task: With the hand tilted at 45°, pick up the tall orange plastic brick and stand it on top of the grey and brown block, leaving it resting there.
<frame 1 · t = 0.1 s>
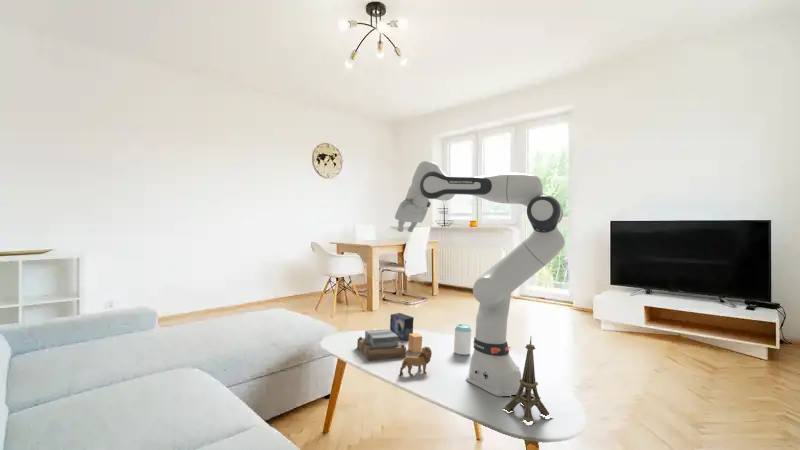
hand: (404, 231, 158), 52 cm above the table, tool tilted 20°, fingers open, 8 cm apart
small box: (400, 337, 186), on the table
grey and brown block: (380, 352, 163), on the table
lion figurine: (415, 373, 143), on the table
can: (461, 353, 167), on the table
eiffel tower: (526, 414, 116), on the table
orange brick: (414, 351, 167), on the table
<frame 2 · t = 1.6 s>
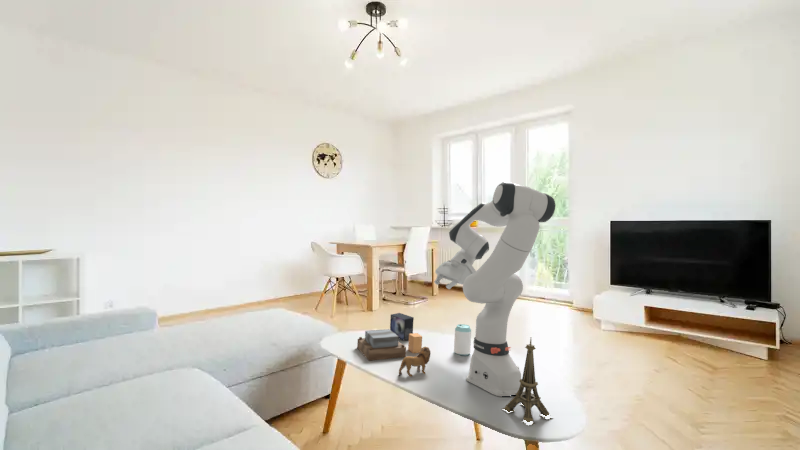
hand: (441, 285, 172), 28 cm above the table, tool tilted 45°, fingers open, 8 cm apart
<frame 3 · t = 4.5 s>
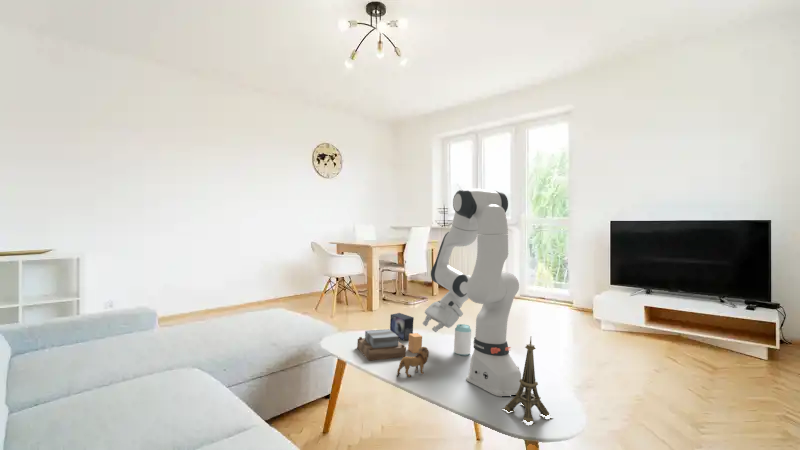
hand: (428, 327, 170), 10 cm above the table, tool tilted 45°, fingers open, 8 cm apart
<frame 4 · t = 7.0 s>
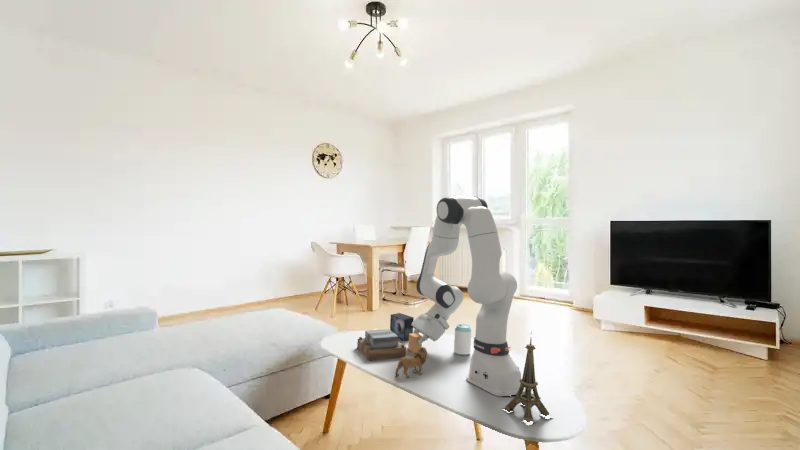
hand: (414, 340, 167), 4 cm above the table, tool tilted 45°, fingers closed on orange brick, 5 cm apart
orange brick: (414, 350, 167), on the table, touching gripper
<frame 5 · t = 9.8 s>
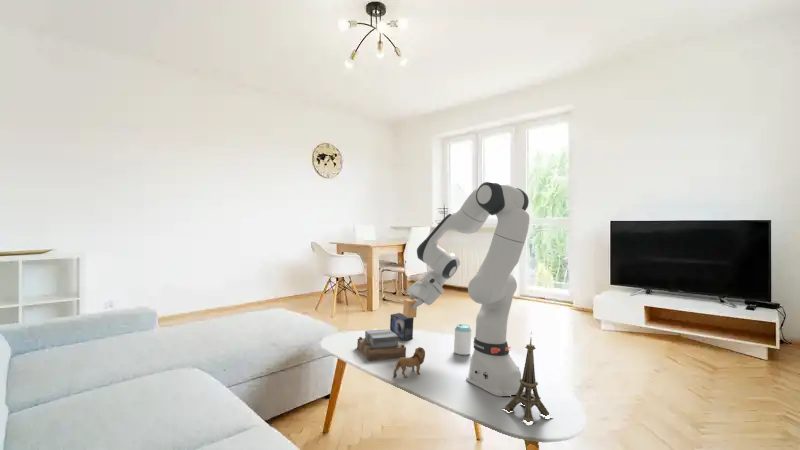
hand: (409, 305, 166), 20 cm above the table, tool tilted 45°, fingers closed on orange brick, 5 cm apart
orange brick: (409, 316, 167), point 15 cm above the table, touching gripper
when the fingers open (14 cm above the table, at t = 12.8 s): orange brick drops 1 cm, resting on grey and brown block.
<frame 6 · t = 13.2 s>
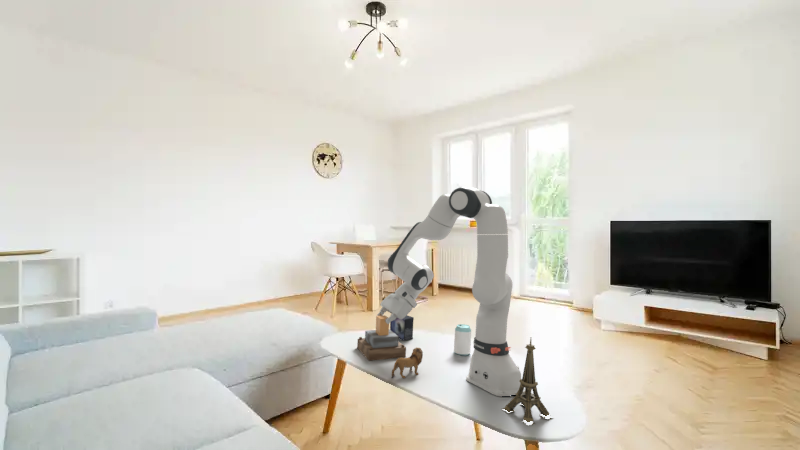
hand: (382, 319, 163), 14 cm above the table, tool tilted 45°, fingers open, 8 cm apart
orange brick: (381, 333, 163), point 8 cm above the table, touching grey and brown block
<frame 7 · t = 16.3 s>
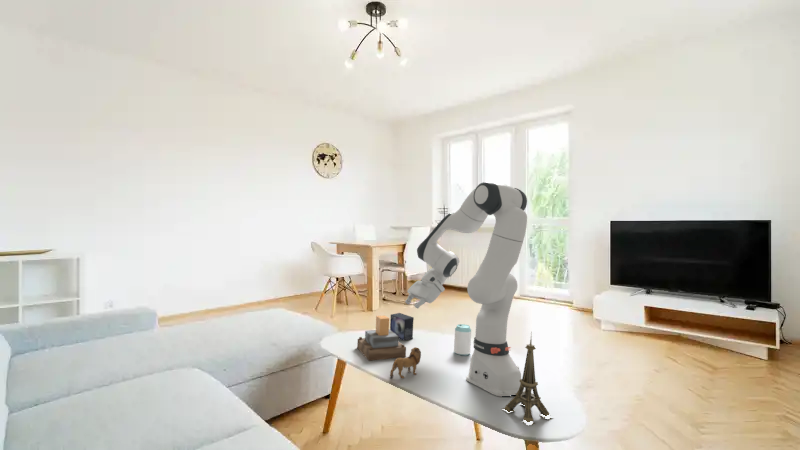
hand: (411, 305, 168), 20 cm above the table, tool tilted 45°, fingers open, 8 cm apart
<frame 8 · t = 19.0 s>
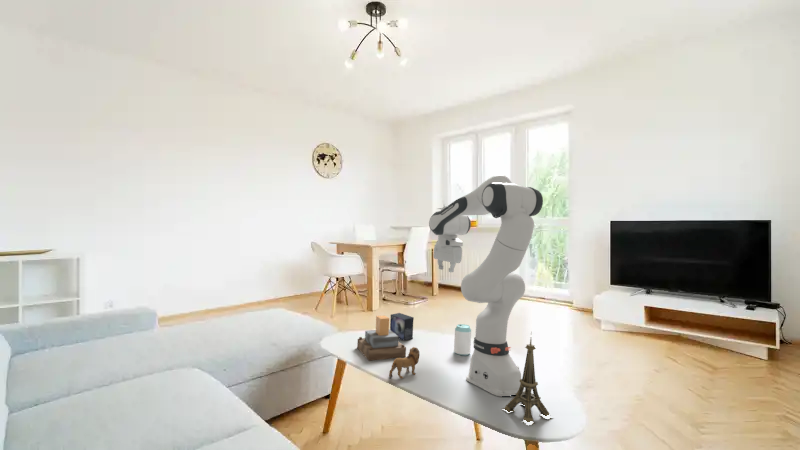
hand: (445, 270, 179), 34 cm above the table, tool pointing down, fingers open, 8 cm apart
at the end: orange brick 0.1 cm off-centre on the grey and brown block, point 8.0 cm above the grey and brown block's base; orange brick tilted 0°; the gripper is holding nothing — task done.
